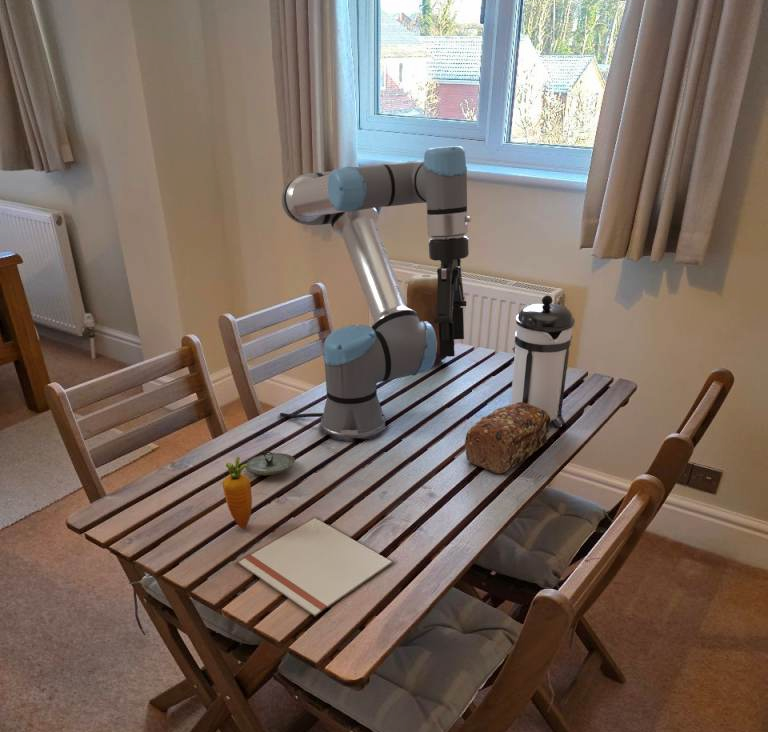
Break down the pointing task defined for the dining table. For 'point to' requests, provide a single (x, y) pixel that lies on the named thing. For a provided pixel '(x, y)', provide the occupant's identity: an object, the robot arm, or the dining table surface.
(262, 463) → the lid
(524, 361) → the coffee press
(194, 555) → the dining table surface
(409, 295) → the butternut squash
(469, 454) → the bread
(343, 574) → the napkin
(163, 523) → the dining table surface
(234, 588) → the dining table surface
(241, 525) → the carrot
